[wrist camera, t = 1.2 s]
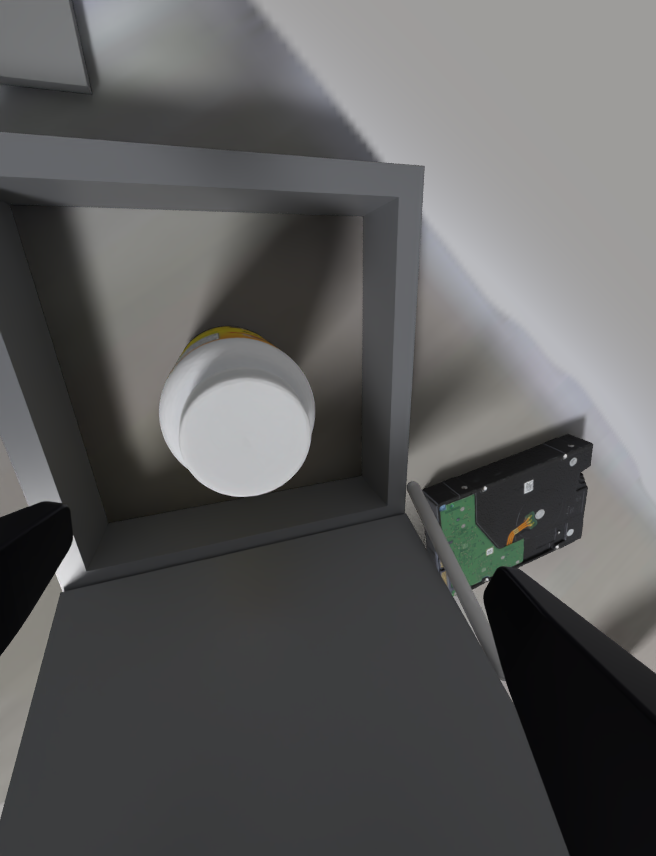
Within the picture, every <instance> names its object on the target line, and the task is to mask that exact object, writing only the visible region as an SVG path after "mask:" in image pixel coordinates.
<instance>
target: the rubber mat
mask: <svg viewBox="0 0 656 856" xmlns="http://www.w3.org/2000/svg"><path fill="white" fill-rule="evenodd" d="M0 84H5V85H14V86H23V87H31V88H40V89H49V90H58V91H67V92H76V93H85V94H92V92H91V87H90V83H89V78H88V73H87V69H86V64H85V59H84V55H83V50H82V45H81V41H80V36H79V32H78V27H77V22H76V18H75V13H74V8H73V4H72V0H0Z"/></svg>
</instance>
